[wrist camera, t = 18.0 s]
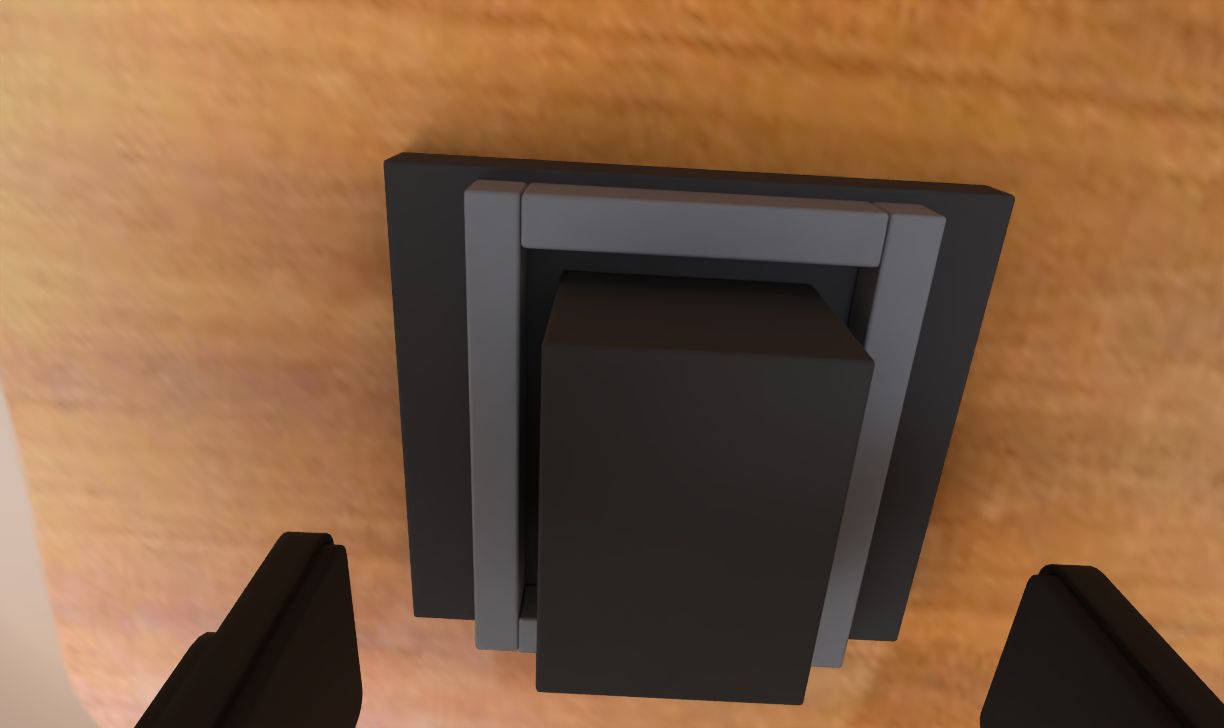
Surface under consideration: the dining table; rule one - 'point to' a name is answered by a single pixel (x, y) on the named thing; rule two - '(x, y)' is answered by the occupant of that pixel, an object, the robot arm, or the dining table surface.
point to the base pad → (681, 247)
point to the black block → (691, 484)
